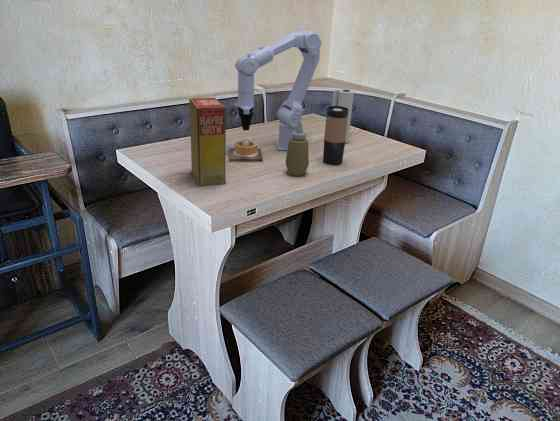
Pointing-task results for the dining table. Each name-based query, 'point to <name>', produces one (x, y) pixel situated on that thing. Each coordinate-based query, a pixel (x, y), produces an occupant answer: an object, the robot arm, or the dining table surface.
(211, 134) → the food packaging
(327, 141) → the travel mug
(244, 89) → the robot arm
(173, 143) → the dining table surface
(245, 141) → the steel shaft
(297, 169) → the squeeze bottle
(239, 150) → the wooden ring
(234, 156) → the walnut base plate
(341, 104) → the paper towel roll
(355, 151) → the dining table surface
